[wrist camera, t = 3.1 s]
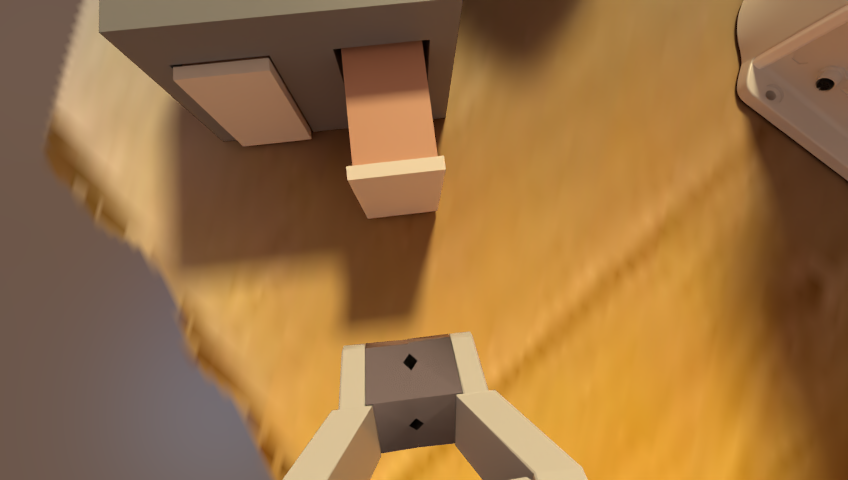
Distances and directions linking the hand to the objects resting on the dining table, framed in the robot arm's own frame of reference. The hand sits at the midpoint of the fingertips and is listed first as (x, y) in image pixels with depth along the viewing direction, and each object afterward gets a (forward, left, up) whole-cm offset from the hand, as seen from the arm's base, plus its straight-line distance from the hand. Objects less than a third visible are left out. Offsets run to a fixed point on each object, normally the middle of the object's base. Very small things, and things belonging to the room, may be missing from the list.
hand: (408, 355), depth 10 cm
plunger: (+13, -7, -21) cm, 25 cm away
